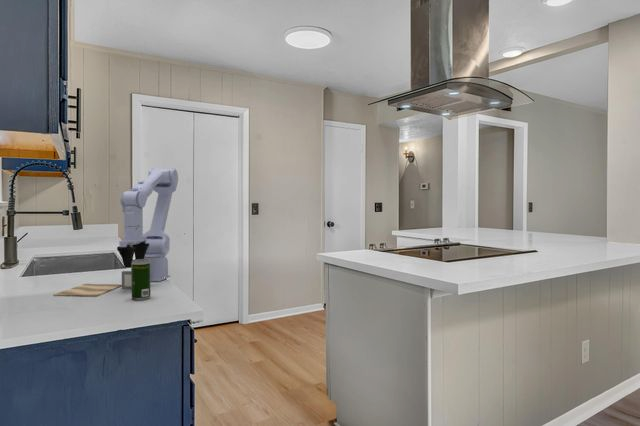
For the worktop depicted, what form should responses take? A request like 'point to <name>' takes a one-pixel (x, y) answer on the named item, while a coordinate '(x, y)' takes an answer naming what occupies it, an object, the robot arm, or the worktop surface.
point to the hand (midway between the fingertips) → (134, 265)
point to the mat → (89, 290)
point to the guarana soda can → (140, 279)
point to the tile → (126, 280)
